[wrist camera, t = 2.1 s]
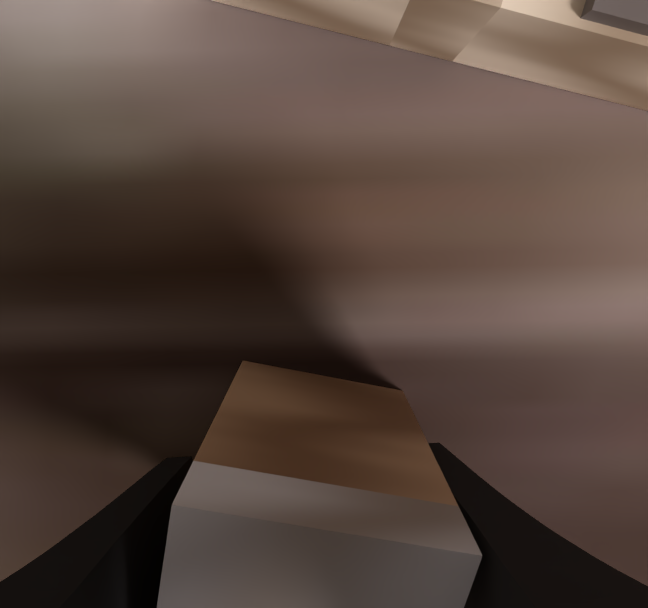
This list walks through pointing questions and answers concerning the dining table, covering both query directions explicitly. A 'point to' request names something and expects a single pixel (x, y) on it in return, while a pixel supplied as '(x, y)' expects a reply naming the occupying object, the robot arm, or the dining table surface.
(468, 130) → the dining table surface
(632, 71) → the slot rack
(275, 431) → the brown rectangular block
